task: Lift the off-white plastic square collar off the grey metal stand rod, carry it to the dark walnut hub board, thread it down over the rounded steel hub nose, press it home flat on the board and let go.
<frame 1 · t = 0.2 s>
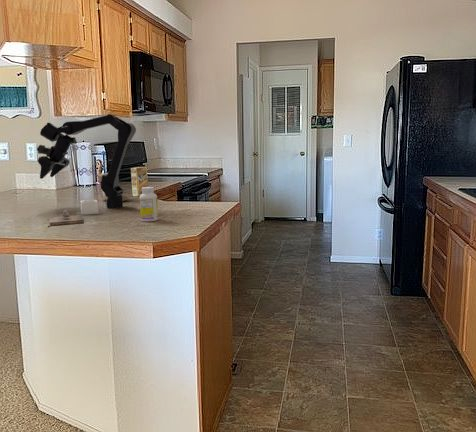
hand: (46, 177, 215), 15 cm above the table, tool tilted 30°, fingers open, 9 cm apart
stand: (90, 215, 200), on the table
candy box: (140, 195, 263), on the table
supplement bottle: (149, 220, 186), on the table
hub: (66, 222, 185), on the table
stone cup: (113, 201, 242), on the table
collar: (89, 212, 200), point 1 cm above the table, touching stand
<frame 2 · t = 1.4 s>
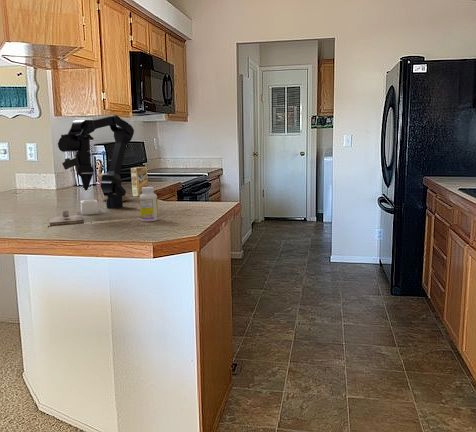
hand: (85, 189, 198), 11 cm above the table, tool pointing down, fingers open, 9 cm apart
nothing on the table moved.
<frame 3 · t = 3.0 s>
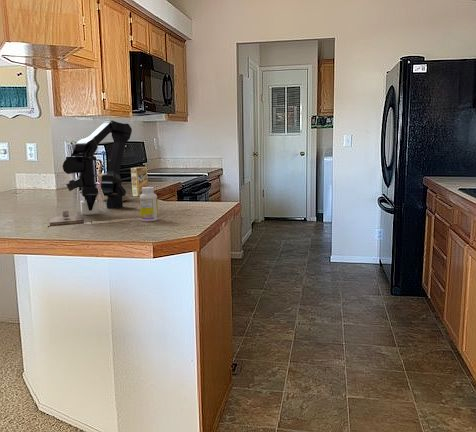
hand: (89, 209, 200), 3 cm above the table, tool pointing down, fingers closed on collar, 6 cm apart
collar: (89, 212, 200), point 1 cm above the table, touching gripper, stand
everything else where it was.
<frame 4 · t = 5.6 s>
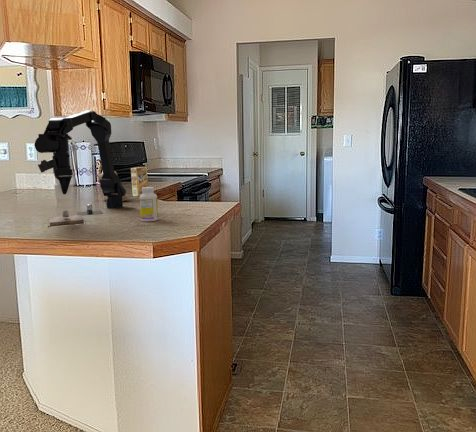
hand: (64, 193, 183), 11 cm above the table, tool pointing down, fingers closed on collar, 6 cm apart
collar: (64, 197, 183), point 10 cm above the table, touching gripper
everything else where it was.
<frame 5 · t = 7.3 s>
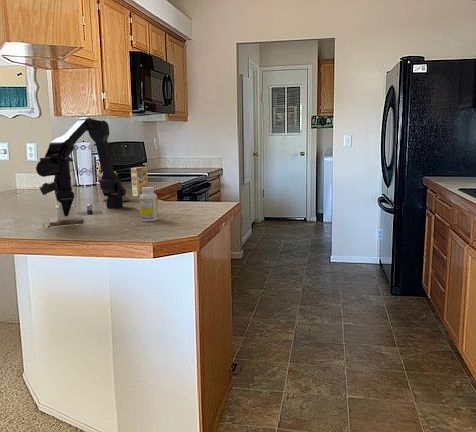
hand: (65, 214, 184), 3 cm above the table, tool pointing down, fingers closed on collar, 6 cm apart
collar: (66, 218, 185), point 1 cm above the table, touching gripper, hub
everything else where it was.
when the fingers open (3 cm above the table, at t = 8.6 s): collar stays where it is, resting on hub.
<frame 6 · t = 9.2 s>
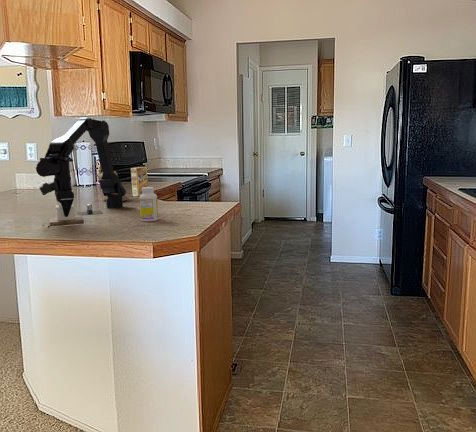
hand: (65, 214, 184), 3 cm above the table, tool pointing down, fingers open, 9 cm apart
collar: (66, 218, 185), point 1 cm above the table, touching hub
everything else where it was.
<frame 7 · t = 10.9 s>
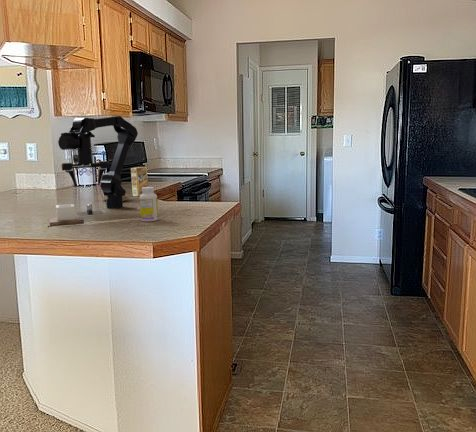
hand: (87, 186, 201), 12 cm above the table, tool pointing down, fingers open, 9 cm apart
nothing on the table moved.
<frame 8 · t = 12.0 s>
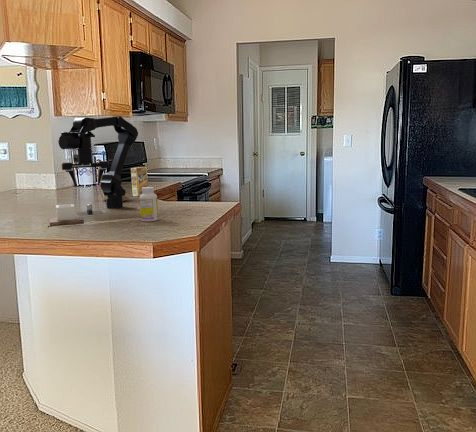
hand: (87, 186, 201), 12 cm above the table, tool pointing down, fingers open, 9 cm apart
nothing on the table moved.
at the end: collar 0.0 cm off-centre on the hub, point 1.5 cm above the hub's base; collar tilted 0°; the gripper is holding nothing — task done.
